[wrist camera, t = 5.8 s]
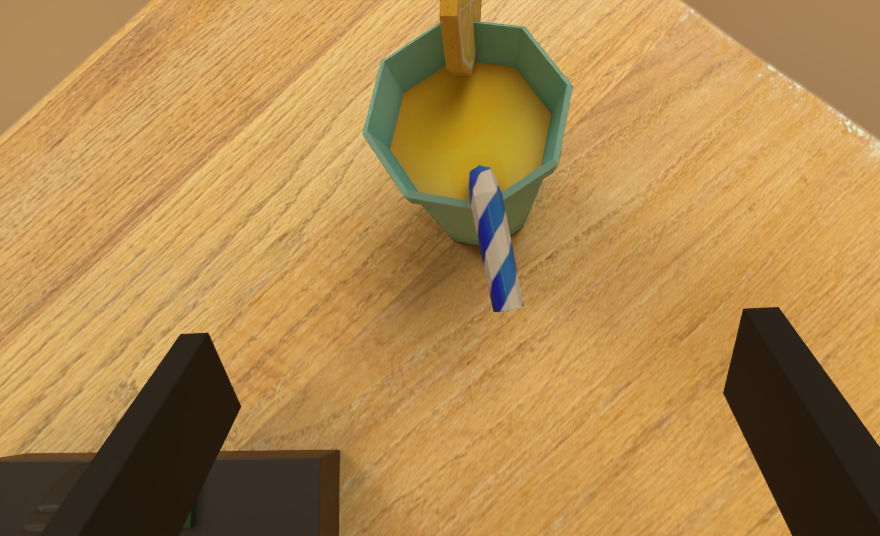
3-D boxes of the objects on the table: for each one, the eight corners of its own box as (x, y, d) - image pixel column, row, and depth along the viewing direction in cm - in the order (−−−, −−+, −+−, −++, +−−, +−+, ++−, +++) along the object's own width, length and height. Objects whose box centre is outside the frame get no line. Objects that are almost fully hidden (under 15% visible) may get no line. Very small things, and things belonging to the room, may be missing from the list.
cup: (586, 330, 28) (665, 277, 13) (437, 358, 29) (360, 336, 14) (528, 86, 31) (542, -173, 16) (395, 117, 32) (295, -106, 17)
